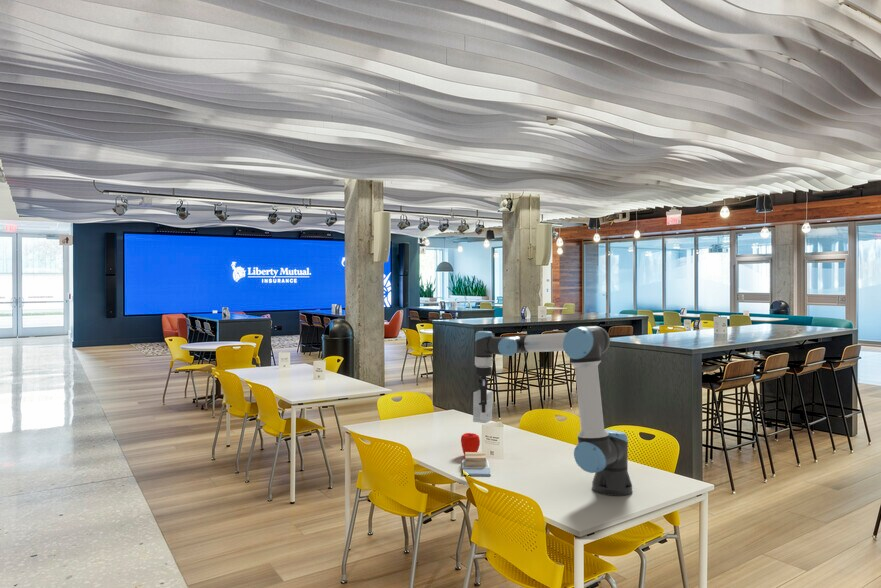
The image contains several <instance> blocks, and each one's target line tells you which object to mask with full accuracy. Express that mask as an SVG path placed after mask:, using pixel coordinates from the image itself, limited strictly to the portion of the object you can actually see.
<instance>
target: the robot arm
mask: <svg viewBox="0 0 881 588" xmlns="http://www.w3.org/2000/svg"><path fill="white" fill-rule="evenodd" d="M474 337H475V338H474V350H475V353H474V366H475V367H474V375H475V376H477V377H479V378H478V390H481V403H479V405H480V420H486V408H487V405H486V404H487V390H488V383H489V380H488V378H487V377H491V376H492V375H493V367H492V365H493V362H494V358H493V355H500V356H504V357H508V356H514V355H515V354H521V353H522V354H523V353H526V354H527V353H540V352H541V353H545V352H548V353H549V352H564V353H565V355H567V356H568V357H569V363H570V365H572V367H574V372H575V373H574V375H575V383H576V384H575V385H576V394H577V402H578V411H579V412H578V414H579V422H580V423H579V424H580V432H578V434H577V445H576V446H575V448H574V449H573V450H574V451H573V457H574V461H575V463H576V464H577V466H578V467H579V468H580V469H581V470H583V471H584V472H587V473H591V474H593V473H594V476H593V478H592V481H591V483H592V484H591V487H592V489H593V491H595V492H597V493H599V494H602V495H607V496H627V495H631V494H632V493H633V484H632V483H633V482H632V481H631V477H630V474H629V471H628V467H629V466H628V458H629V457H628V456H629V455H628V453H629V452H628V450H629V448H628V447H629V441H628V435H627V433H625V432H623V431H619V430H612V429H605V422H604V415H603V406H602V405H603V403H602V395H601V384H600V376H599V365H600V363H601V362H602V355H603V354H604V353H605V352H607V350H608V349H609V347H610V344H611V337H610V335H609V333H608V332H607V330H606V329H605V328H603V327H602V326H601V327H600V326H597V325H590V326H578V327H575V328H572V329H570V330H569V331H568V332H558V333H555V332H554V333H541V334H528V335H525V334H524V335H523V334H521V335H513V336H505V337H504V336H501V337H500V336H494V335H493V332H492V331H489V330H479V331H476V333H475V336H474Z"/></svg>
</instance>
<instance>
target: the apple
mask: <svg viewBox="0 0 881 588" xmlns="http://www.w3.org/2000/svg"><path fill="white" fill-rule="evenodd" d="M460 443H461V448H462V449H461V450H462V453H463V455H464V456H465V452H479V448H480V444H481V440H480V436H479V435H478V434H476V433H471V432H465V433H463V434H462V435H461V437H460Z"/></svg>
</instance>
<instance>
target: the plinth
mask: <svg viewBox="0 0 881 588" xmlns="http://www.w3.org/2000/svg"><path fill="white" fill-rule="evenodd" d="M464 460H465V467H486V460H487V455H486V451H485V452H483V451H477V452H465V455H464Z"/></svg>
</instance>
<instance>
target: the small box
mask: <svg viewBox="0 0 881 588" xmlns="http://www.w3.org/2000/svg"><path fill="white" fill-rule="evenodd" d="M472 394H473V396H472V401H473V402H472V403H473V405H472V406H473V407H472V422H473V423H480V424H487V423H489V422H490V421H492V420H493V390H489V389H487V404H486V405H487V408H486V420H480V405H479V403H481V390H480V389H478V390H476V391H474V392H473V393H472Z"/></svg>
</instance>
